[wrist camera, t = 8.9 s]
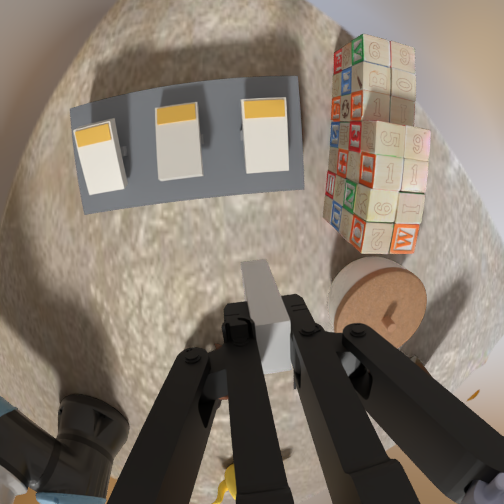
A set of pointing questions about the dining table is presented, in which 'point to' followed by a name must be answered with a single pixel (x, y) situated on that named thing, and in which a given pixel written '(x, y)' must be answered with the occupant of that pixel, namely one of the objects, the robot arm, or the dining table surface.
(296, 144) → the switch box
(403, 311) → the lidded bowl
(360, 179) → the stack of blocks
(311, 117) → the dining table surface
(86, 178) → the small box
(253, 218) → the dining table surface
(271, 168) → the rocker
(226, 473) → the teapot
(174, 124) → the rocker
